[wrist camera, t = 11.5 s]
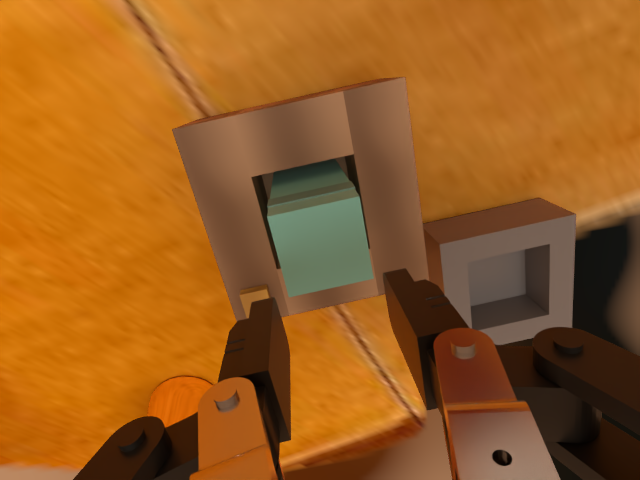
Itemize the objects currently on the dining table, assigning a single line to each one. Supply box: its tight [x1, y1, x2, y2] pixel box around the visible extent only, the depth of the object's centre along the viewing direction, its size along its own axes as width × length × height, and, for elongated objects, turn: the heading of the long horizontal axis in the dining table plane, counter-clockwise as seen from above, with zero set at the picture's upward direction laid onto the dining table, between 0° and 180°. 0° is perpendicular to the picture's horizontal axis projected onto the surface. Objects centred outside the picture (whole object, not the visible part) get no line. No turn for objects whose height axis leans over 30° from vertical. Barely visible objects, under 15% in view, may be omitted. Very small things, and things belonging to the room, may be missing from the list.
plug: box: [267, 158, 374, 297], centre depth 22 cm, size 4×4×10 cm
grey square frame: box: [423, 198, 576, 345], centre depth 29 cm, size 9×9×4 cm
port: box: [172, 77, 429, 321], centre depth 25 cm, size 12×12×7 cm
